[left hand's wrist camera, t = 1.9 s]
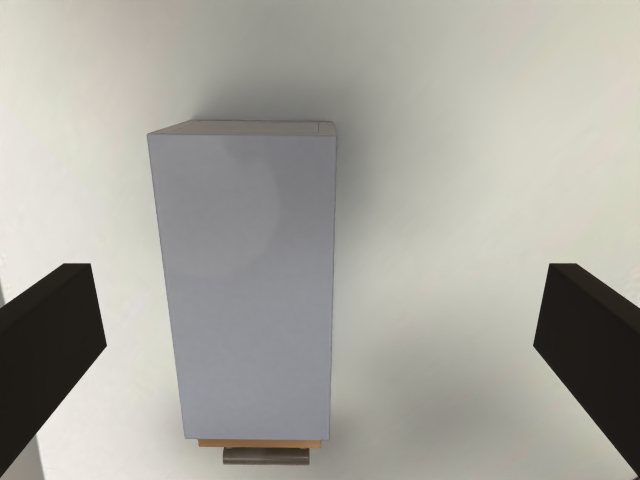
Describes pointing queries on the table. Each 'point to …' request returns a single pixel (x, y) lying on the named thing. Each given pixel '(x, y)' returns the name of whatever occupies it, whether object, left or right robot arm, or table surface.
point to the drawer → (263, 451)
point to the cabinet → (249, 273)
